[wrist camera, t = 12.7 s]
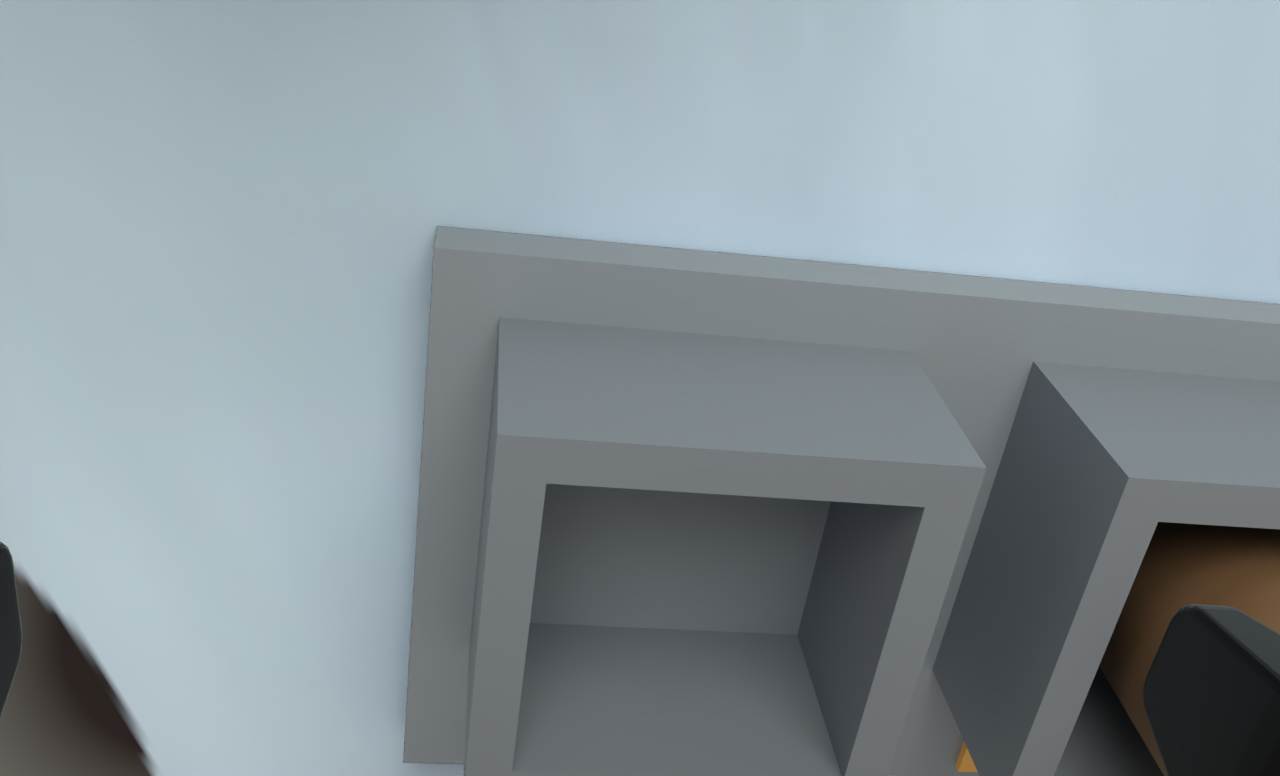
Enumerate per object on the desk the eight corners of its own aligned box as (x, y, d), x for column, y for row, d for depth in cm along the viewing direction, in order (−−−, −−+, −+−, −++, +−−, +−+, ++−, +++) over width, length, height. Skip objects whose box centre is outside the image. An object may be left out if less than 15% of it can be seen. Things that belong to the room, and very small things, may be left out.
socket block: (406, 728, 27) (386, 923, 22) (436, 226, 21) (418, 355, 17) (1297, 757, 30) (1430, 931, 26) (1528, 327, 24) (1749, 457, 20)
